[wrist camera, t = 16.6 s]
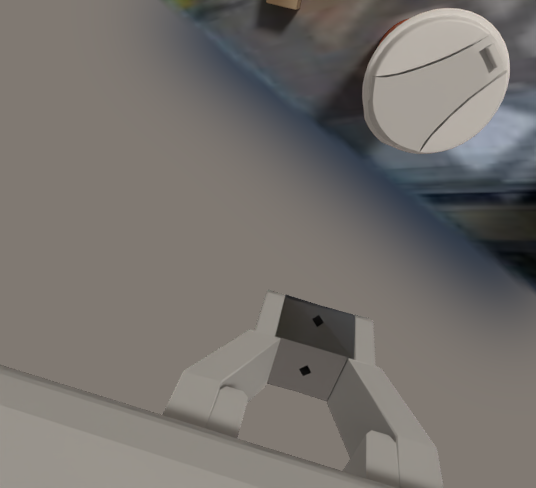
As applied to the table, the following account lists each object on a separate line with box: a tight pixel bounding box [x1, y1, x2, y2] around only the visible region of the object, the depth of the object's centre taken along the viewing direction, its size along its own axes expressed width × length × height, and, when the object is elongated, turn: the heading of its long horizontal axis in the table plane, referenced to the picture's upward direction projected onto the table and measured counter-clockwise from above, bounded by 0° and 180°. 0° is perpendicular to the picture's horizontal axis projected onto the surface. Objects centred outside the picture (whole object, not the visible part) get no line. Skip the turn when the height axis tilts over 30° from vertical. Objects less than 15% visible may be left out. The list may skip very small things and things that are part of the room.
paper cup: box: [362, 8, 510, 154], centre depth 27 cm, size 8×8×14 cm
